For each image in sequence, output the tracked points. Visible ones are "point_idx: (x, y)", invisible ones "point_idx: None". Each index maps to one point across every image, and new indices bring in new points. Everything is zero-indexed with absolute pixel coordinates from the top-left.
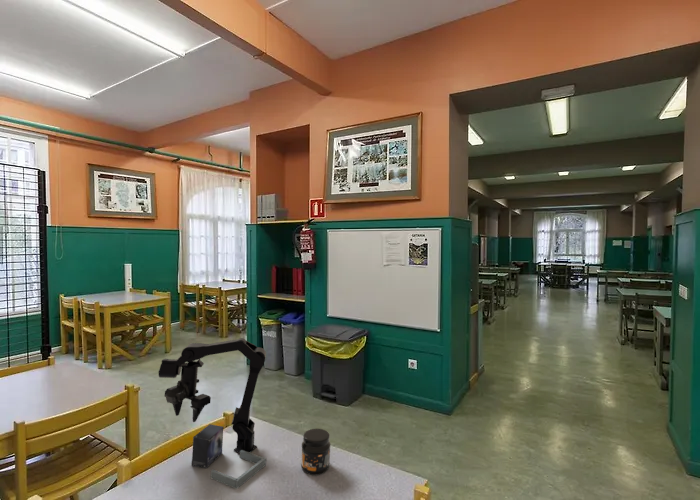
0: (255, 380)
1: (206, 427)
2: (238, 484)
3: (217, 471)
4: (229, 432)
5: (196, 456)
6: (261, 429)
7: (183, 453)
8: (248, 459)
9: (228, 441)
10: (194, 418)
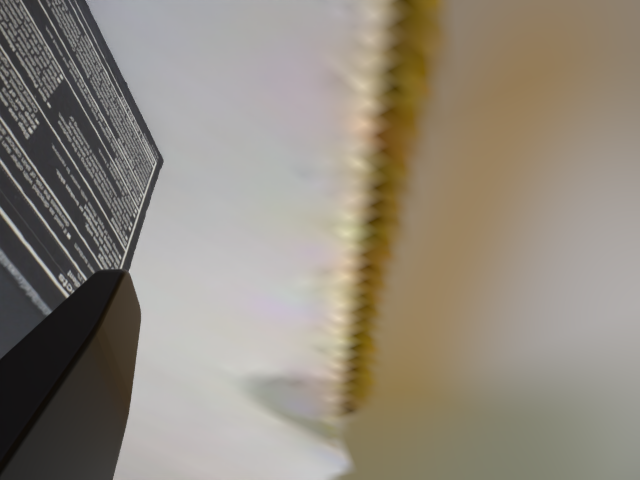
0: None
1: (17, 310)
2: None
3: None
4: (265, 381)
5: None
6: (121, 472)
7: (334, 5)
8: None
9: (161, 318)
10: (17, 352)
